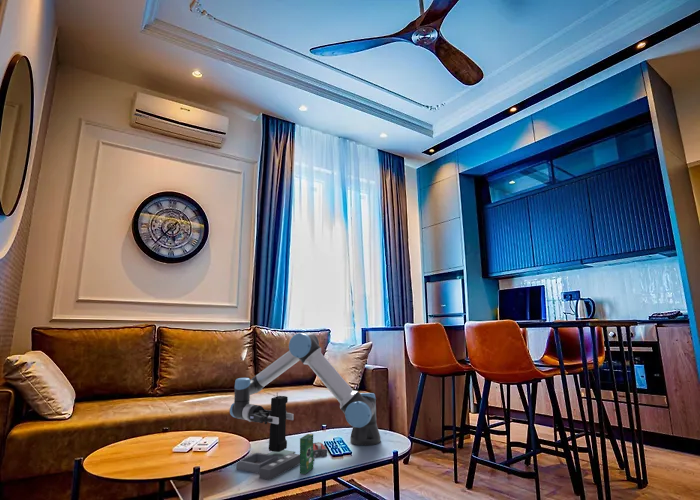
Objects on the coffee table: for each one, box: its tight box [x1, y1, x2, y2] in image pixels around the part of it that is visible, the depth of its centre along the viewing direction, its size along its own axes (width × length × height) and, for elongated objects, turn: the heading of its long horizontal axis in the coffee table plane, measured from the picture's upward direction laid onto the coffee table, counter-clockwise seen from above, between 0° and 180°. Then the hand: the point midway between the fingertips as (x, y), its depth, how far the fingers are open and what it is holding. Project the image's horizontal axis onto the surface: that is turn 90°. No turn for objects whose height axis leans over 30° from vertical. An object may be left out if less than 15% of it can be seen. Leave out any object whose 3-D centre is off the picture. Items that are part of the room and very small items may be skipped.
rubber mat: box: [267, 449, 296, 459], centre depth 175 cm, size 10×12×1 cm
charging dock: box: [236, 452, 300, 481], centre depth 160 cm, size 20×20×4 cm
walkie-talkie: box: [313, 441, 328, 462], centre depth 175 cm, size 9×4×20 cm
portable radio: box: [268, 392, 289, 452], centre depth 178 cm, size 8×6×25 cm
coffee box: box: [299, 433, 314, 475], centre depth 157 cm, size 8×3×13 cm, turn 162°
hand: (285, 419), depth 176 cm, fingers closed on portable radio, 8 cm apart
